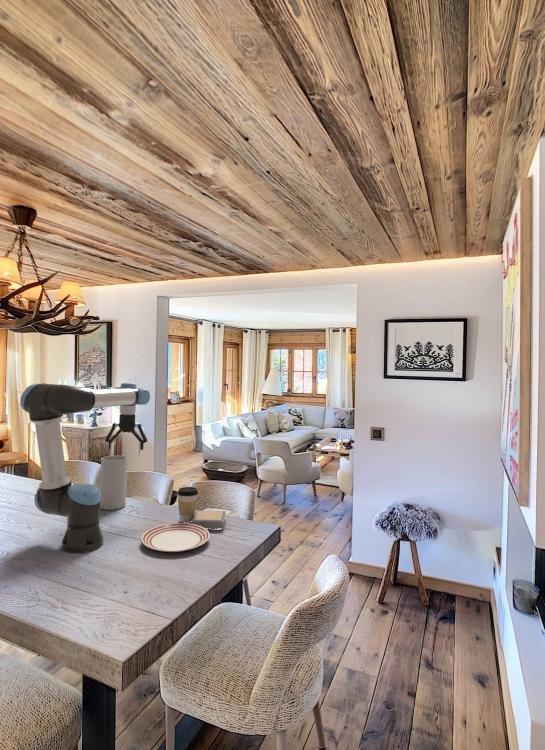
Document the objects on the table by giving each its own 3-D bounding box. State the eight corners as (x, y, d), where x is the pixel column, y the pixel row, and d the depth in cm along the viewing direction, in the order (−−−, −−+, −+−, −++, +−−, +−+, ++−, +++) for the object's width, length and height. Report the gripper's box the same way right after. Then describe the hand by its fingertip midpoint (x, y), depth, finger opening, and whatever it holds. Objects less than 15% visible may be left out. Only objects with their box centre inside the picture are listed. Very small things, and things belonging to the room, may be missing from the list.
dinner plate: (211, 555, 161) (212, 546, 161) (138, 559, 155) (138, 550, 155) (207, 529, 187) (207, 521, 187) (144, 531, 182) (144, 524, 181)
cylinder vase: (109, 512, 204) (111, 461, 204) (94, 507, 211) (95, 458, 211) (130, 505, 215) (132, 457, 215) (114, 501, 221) (116, 454, 221)
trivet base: (222, 530, 186) (223, 521, 186) (191, 529, 185) (191, 520, 185) (225, 519, 200) (225, 510, 200) (196, 518, 199) (196, 510, 199)
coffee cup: (198, 517, 201) (199, 486, 201) (195, 524, 191) (196, 492, 191) (178, 517, 201) (179, 486, 201) (174, 524, 191) (175, 491, 191)
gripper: (154, 413, 213) (152, 455, 212) (104, 412, 211) (102, 454, 210) (151, 415, 205) (149, 458, 205) (99, 413, 203) (97, 456, 203)
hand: (125, 456), depth 208 cm, fingers open, 13 cm apart
